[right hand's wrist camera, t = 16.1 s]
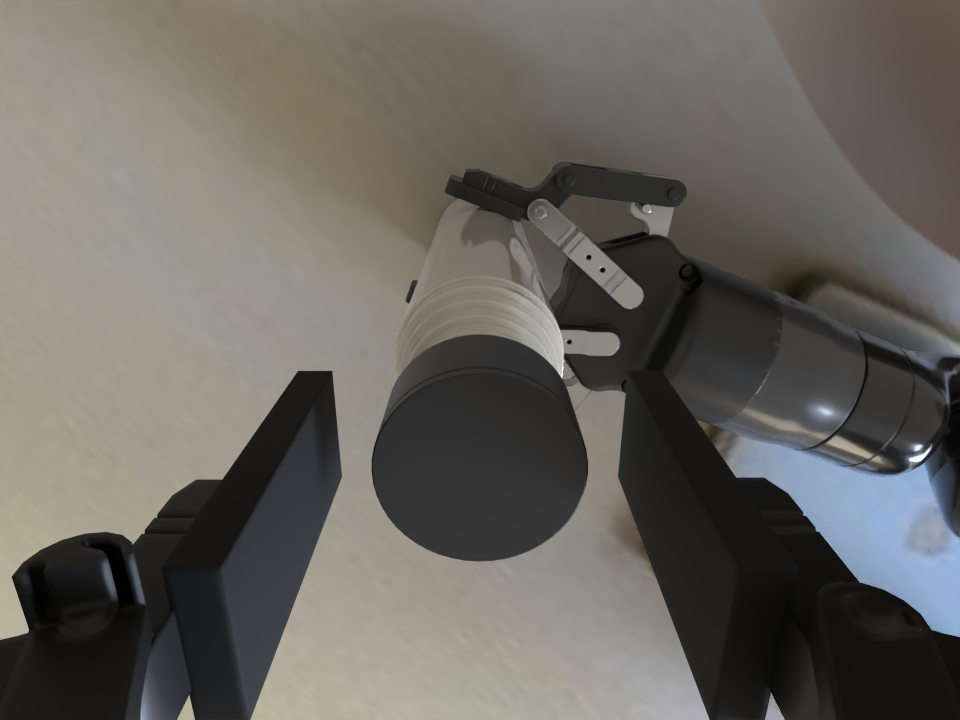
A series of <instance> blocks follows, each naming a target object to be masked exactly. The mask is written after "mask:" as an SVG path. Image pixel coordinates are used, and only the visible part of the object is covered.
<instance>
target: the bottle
mask: <svg viewBox="0 0 960 720" xmlns="http://www.w3.org/2000/svg"><path fill="white" fill-rule="evenodd" d="M478 334H483V335H495V336H500V337H505V338H509V339H511V340H514V341H517V342H520V343H522V344H524V345H526V346H528V347H530V348H532V349H533V350H535V351H536V352H538V353H539V354H540V355H542V356H543V357H544V358H545V359H546V360H547V361H549V362H550V364H551V365H552V366H553V367H554V368H555V369H556V370H557V372H558V373H559V375H560V376H561V378H562V376H563V368H564V344H563V339H562V334H561V331H560V329H559V326H558V323H557V320H556V317H555V315H554V312H553V309H552V306H551V304H550V301H549V298H548V295H547V293H546V290H545V287H544V284H543V282H542V279H541V276H540V273H539V271H538V268H537V265H536V262H535V260H534V257H533V254H532V251H531V249H530V246H529V243H528V240H527V238H526V235H525V232H524V229H523V227H522V224H521V221H520V222H517V221H515V220H512V219H510V218H507V217H505V216H502V215H500V214H498V213H495V212H492V211H489V210H487V209H484V208H482V207H479V206H477V205H474V204H471V203H469V202H466V201H464V200H461V199H459V198H458V199H456V200H455V201H453V202H452V203H451V204H450V205H449V206H448V207H447V209H446V210H445V211H444V213H443V215H442V217H441V219H440V222H439V224H438V227H437V230H436V232H435V235H434V238H433V241H432V243H431V246H430V249H429V252H428V254H427V257H426V260H425V262H424V265H423V268H422V271H421V273H420V276H419V279H418V282H417V284H416V287H415V290H414V292H413V295H412V298H411V301H410V303H409V306H408V309H407V312H406V314H405V317H404V320H403V322H402V325H401V328H400V331H399V335H398V338H397V345H396V370H397V376H398V377H399V376H400V375H401V373H402V372H403V370H404V369H405V368H406V367H407V366H408V365H409V363H410V362H411V361H412V360H413V359H415V358H416V357H417V356H418V355H419V354H421V353H422V352H424V351H425V350H427V349H428V348H430V347H432V346H434V345H436V344H438V343H440V342H442V341H445V340H448V339H451V338H455V337H460V336H465V335H478Z"/></svg>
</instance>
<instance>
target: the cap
mask: <svg viewBox="0 0 960 720" xmlns="http://www.w3.org/2000/svg"><path fill="white" fill-rule="evenodd" d="M587 476H588V459H587V452H586V447H585V444H584V440H583V437H582V434H581V431H580V428H579V424H578V421H577V418H576V415H575V412H574V408H573V405H572V402H571V399H570V396H569V392H568V390H567V388H566V385H565V383H564V381H563V379H562V378H561V376H560V375H559V373H558V372H557V370H556V369H555V368H554V367H553V366H552V365H551V364H550V362H549V361H547V360H546V359H545V358H544V357H543V356H542V355H540V354H539V353H538V352H536V351H535V350H533V349H532V348H530V347H528V346H526V345H524V344H522V343H520V342H517V341H514V340H511V339H509V338H505V337H500V336H495V335H483V334H478V335H465V336H460V337H455V338H451V339H448V340H445V341H442V342H440V343H438V344H436V345H434V346H432V347H430V348H428V349H427V350H425V351H424V352H422V353H421V354H419V355H418V356H417V357H416V358H415V359H413V360H412V361H411V362H410V363H409V365H408V366H407V367H406V368H405V369H404V370H403V372H402V373H401V375H400V376H399V377H398V379H397V381H396V383H395V385H394V387H393V389H392V392H391V395H390V398H389V401H388V404H387V408H386V411H385V414H384V417H383V420H382V423H381V427H380V430H379V433H378V436H377V439H376V442H375V446H374V450H373V456H372V477H373V484H374V488H375V491H376V495H377V497H378V499H379V502H380V504H381V506H382V508H383V510H384V511H385V513H386V514H387V516H388V518H389V519H390V520H391V521H392V522H393V524H394V525H395V526H396V527H397V528H398V529H399V530H400V531H401V532H402V533H403V534H404V535H405V536H407V537H408V538H410V539H411V540H412V541H414V542H415V543H417V544H418V545H420V546H422V547H424V548H426V549H427V550H430V551H432V552H435V553H437V554H439V555H443V556H446V557H450V558H454V559H459V560H465V561H494V560H500V559H506V558H510V557H514V556H517V555H520V554H523V553H525V552H528V551H530V550H532V549H534V548H536V547H538V546H540V545H542V544H543V543H545V542H546V541H547V540H549V539H550V538H552V537H553V536H554V535H555V534H556V533H557V532H559V531H560V530H561V529H562V528H563V527H564V526H565V524H566V523H567V522H568V521H569V520H570V518H571V517H572V515H573V514H574V512H575V511H576V509H577V507H578V505H579V503H580V501H581V499H582V497H583V493H584V490H585V487H586V482H587Z"/></svg>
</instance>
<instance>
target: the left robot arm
mask: <svg viewBox="0 0 960 720" xmlns="http://www.w3.org/2000/svg"><path fill="white" fill-rule="evenodd" d="M445 192H446V193H447V194H449V195H451V196H454V197H456V198H459V199H461V200H464V201H466V202H469V203H471V204H474V205H477V206H479V207H482V208H484V209H487V210H489V211H492V212H495V213H498V214H500V215H502V216H505V217H507V218H510V219H512V220H515V221H517V222H520V220H521V218H523V219H526V220H528V221H531V222H532V223H533V224H534V225H535V226H536V227H537V228H538V229H539V230H540V231H542V232H543V233H544V234H545V235H546V236H547V237H548V238H549V239H550V240H551V241H553V242H554V243H555V244H556V245H557V246H558V247H559V248H560V249H561V250H562V251H563V252H564V253H565V254H566V255H567V256H568V257H569V258H568V260H567V262H566V265H565V267H564V269H563V274H562V281H561V285H560V287H559V288H558V289H557V291H556V292H555V293H554V294H553V296H552V297H551V299H550V304H551V306H552V309H553V312H554V315H555V317H556V320H557V323H558V326H559V329H560V331H561V334H562V339H563V344H564V359H565V361H566V362H567V364H568V365H569V367H570V368H571V370H572V372H573V373H574V375H575V376H574V377H573V378H571V379H563V381H564V383H565V385H566V388H567V390H568V392H569V396H570V399H571V402H572V405H573V408H574V412H575V410H576V409H577V408H578V407H579V406H580V404H581V403H582V402H583V401H584V399H585V398H586V397H587V396H588V395H589V393H590V392H591V391H606V390H617V391H622V392H624V393H626V386H627V375H628V371H662V372H663V373H664V375H665V376H666V378H667V379H668V381H669V382H670V384H671V385H672V386H673V388H674V389H675V391H676V392H677V394H678V395H679V396H680V398H681V399H682V401H683V402H684V404H685V405H686V406H687V408H688V409H689V411H690V412H691V414H692V415H693V416H694V418H695V419H697V420H700V421H702V422H705V423H708V424H711V425H713V426H716V427H719V428H722V429H725V430H727V431H730V432H733V433H736V434H738V435H741V436H744V437H747V438H750V439H753V440H757V441H762V442H766V443H771V444H777V445H781V446H784V447H788V448H791V449H794V450H796V451H799V452H802V453H804V454H807V455H810V456H813V457H815V458H818V459H821V460H824V461H826V462H829V463H832V464H835V465H837V466H840V467H843V468H846V469H850V470H853V471H856V472H859V473H862V474H866V475H871V476H882V477H889V476H897V475H901V474H904V473H907V472H909V471H911V470H913V469H915V468H917V467H919V466H920V465H922V464H923V463H925V467H926V470H927V474H928V477H929V480H930V484H931V487H932V491H933V494H934V497H935V501H936V504H937V507H938V511H939V514H940V516H941V518H942V520H943V522H944V524H945V526H946V527H947V529H948V530H949V531H950V532H951V533H952V534H953V535H954V536H955V537H957V538H958V539H959V540H960V355H953V354H945V353H936V352H920V351H910V350H905V349H903V348H901V347H899V346H897V345H894V344H892V343H889V342H887V341H885V340H882V339H880V338H877V337H875V336H872V335H870V334H867V333H864V332H862V331H859V330H857V329H854V328H852V327H849V326H847V325H845V324H843V323H841V322H839V321H837V320H835V319H833V318H832V317H830V316H829V315H827V314H825V313H824V312H822V311H820V310H818V309H816V308H815V307H812V306H810V305H808V304H806V303H803V302H801V301H798V300H796V299H793V298H791V297H790V296H789V295H787V294H786V293H784V292H782V291H779V290H775V289H768V288H766V287H763V286H761V285H758V284H756V283H753V282H751V281H748V280H746V279H743V278H741V277H738V276H736V275H733V274H731V273H728V272H726V271H723V270H721V269H718V268H716V267H713V266H711V265H708V264H706V263H704V262H701V261H699V260H696V259H694V258H691V257H689V256H686V255H684V254H682V253H680V252H679V250H678V249H677V248H676V247H675V245H674V244H673V242H672V241H671V240H670V239H668V238H667V237H668V233H669V229H670V225H671V221H672V216H673V212H674V208H675V207H677V206H679V205H680V204H681V203H682V202H683V201H684V200H685V197H686V188H685V186H684V184H683V183H682V182H680V181H677V180H675V179H672V178H669V177H666V176H663V175H656V174H649V173H642V172H634V171H627V170H620V169H613V168H605V167H598V166H591V165H583V164H576V163H569V162H560V163H558V164H556V165H555V166H554V167H553V168H552V170H551V172H550V174H549V175H548V176H547V177H546V178H545V179H544V180H543V182H542V183H541V184H539V185H538V186H536V187H534V188H524V187H522V186H519V185H517V184H514V183H512V182H509V181H507V180H504V179H502V178H499V177H497V176H494V175H492V174H489V173H487V172H484V171H482V170H479V169H466V172H465V174H464V177H463V178H461V177H458V176H455V175H451V176H450V178H449V181H448V184H447V186H446V189H445ZM571 194H574V195H582V196H589V197H597V198H604V199H611V200H619V201H626V202H627V204H626V206H627V210H628V212H629V213H630V214H631V215H633V216H634V217H635V218H637V219H640V220H642V221H643V223H644V226H645V231H644V232H640V233H636V234H632V235H628V236H624V237H620V238H616V239H613V240H609V241H605V242H601V243H597V244H596V243H595V242H594V241H593V240H592V239H591V238H590V237H589V236H588V235H587V234H586V233H585V232H584V231H582V230H581V229H580V228H579V227H578V226H577V225H576V224H575V223H574V222H573V221H572V220H570V219H569V218H568V217H567V216H566V215H565V214H564V213H563V212H562V211H561V210H559V208H560V207H561V205H562V204H563V203H564V202H565V201H566V200H567V199H568V198H569V197H570V195H571ZM417 282H418V281H417V280H413V281H412V284H411V286H410V289H409V292H408V295H407V297H406V302H407V303H410V301H411V298H412V295H413V292H414V290H415V287H416V284H417Z"/></svg>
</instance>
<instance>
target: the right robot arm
mask: <svg viewBox="0 0 960 720" xmlns="http://www.w3.org/2000/svg"><path fill="white" fill-rule="evenodd" d="M341 478H342V473H341V462H340V451H339V440H338V429H337V418H336V408H335V397H334V386H333V375H332V371H298V372H297V373H296V375H295V376H294V378H293V379H292V381H291V382H290V384H289V385H288V386H287V388H286V389H285V391H284V392H283V394H282V395H281V396H280V398H279V399H278V401H277V402H276V404H275V405H274V406H273V408H272V409H271V411H270V412H269V414H268V415H267V416H266V418H265V419H264V421H263V422H262V424H261V425H260V427H259V428H258V429H257V431H256V432H255V434H254V435H253V437H252V438H251V439H250V441H249V442H248V444H247V445H246V447H245V448H244V449H243V451H242V452H241V454H240V455H239V457H238V458H237V460H236V461H235V462H234V464H233V465H232V467H231V468H230V470H229V471H228V472H227V474H226V475H225V477H224V478H223V480H195V481H194V482H192V483H191V484H189V485H188V486H186V487H185V488H183V489H182V490H180V491H179V492H177V493H176V494H174V495H173V496H172V497H171V498H170V499H169V500H168V502H167V503H166V504H165V505H164V507H163V508H162V509H161V510H160V512H159V513H158V514H157V518H154V519H153V520H152V522H151V523H150V524H149V525H148V527H147V528H146V529H145V534H141V535H140V537H139V538H138V539H137V541H136V542H135V543H134V544H133V545H132V542H131V541H129V540H128V539H127V538H125V537H124V536H123V535H119V534H114V533H108V532H101V533H88V534H83V535H79V536H75V537H72V538H68V539H64V540H61V541H59V542H57V543H55V544H53V545H51V546H48V547H46V548H44V549H42V550H40V551H39V552H37V553H36V554H35V555H33V556H32V557H30V558H29V559H28V560H26V561H25V562H23V563H22V564H21V566H20V567H19V568H18V570H17V571H16V572H15V573H14V575H13V576H12V579H13V582H14V585H15V588H16V591H17V594H18V597H19V600H20V603H21V606H22V609H23V612H24V615H25V618H26V621H27V624H28V627H29V632H28V633H26V634H23V635H20V636H16V637H11V638H7V639H2V640H0V720H177V718H178V716H179V714H180V712H181V710H182V708H183V706H184V704H185V702H186V700H187V698H188V696H189V695H190V699H191V703H192V708H193V712H194V717H195V720H250V719H251V716H252V714H253V711H254V708H255V706H256V703H257V700H258V698H259V695H260V692H261V690H262V687H263V684H264V682H265V679H266V677H267V674H268V671H269V669H270V666H271V663H272V661H273V658H274V655H275V653H276V650H277V647H278V645H279V642H280V639H281V637H282V634H283V631H284V629H285V626H286V623H287V621H288V618H289V616H290V613H291V610H292V608H293V605H294V602H295V600H296V597H297V594H298V592H299V589H300V586H301V584H302V581H303V578H304V576H305V573H306V570H307V568H308V565H309V562H310V560H311V557H312V555H313V552H314V549H315V547H316V544H317V541H318V539H319V536H320V533H321V531H322V528H323V525H324V523H325V520H326V517H327V515H328V512H329V509H330V507H331V504H332V501H333V499H334V496H335V494H336V491H337V488H338V486H339V483H340V480H341ZM618 478H619V480H620V483H621V486H622V488H623V491H624V494H625V496H626V499H627V501H628V504H629V507H630V509H631V512H632V515H633V517H634V520H635V523H636V525H637V528H638V531H639V533H640V536H641V539H642V541H643V544H644V547H645V549H646V552H647V555H648V557H649V560H650V562H651V565H652V568H653V570H654V573H655V576H656V578H657V581H658V584H659V586H660V589H661V592H662V594H663V597H664V600H665V602H666V605H667V608H668V610H669V613H670V616H671V618H672V621H673V623H674V626H675V629H676V631H677V634H678V637H679V639H680V642H681V645H682V647H683V650H684V653H685V655H686V658H687V661H688V663H689V666H690V669H691V671H692V674H693V677H694V679H695V682H696V684H697V687H698V690H699V692H700V695H701V698H702V700H703V703H704V706H705V708H706V711H707V714H708V716H709V719H710V720H765V717H766V712H767V708H768V703H769V699H770V695H771V693H772V695H773V697H774V699H775V701H776V703H777V705H778V707H779V709H780V711H781V713H782V715H783V717H784V719H785V720H960V637H956V636H952V635H948V634H943V633H940V632H936V631H933V630H931V629H930V627H929V626H928V624H927V623H926V621H925V620H924V618H923V617H922V615H921V614H920V613H919V612H917V611H916V610H915V609H914V608H912V607H911V606H910V605H909V604H908V603H906V602H905V601H904V600H902V599H900V598H898V597H896V596H894V595H892V594H890V593H889V592H887V591H885V590H883V589H879V588H876V587H873V586H870V585H866V584H863V583H860V582H859V581H858V580H857V579H856V577H855V576H854V575H853V574H852V572H851V571H850V570H849V569H848V568H847V566H846V565H845V564H844V563H843V561H842V560H841V559H840V558H839V556H838V555H837V554H836V553H835V551H834V550H833V549H832V548H831V546H830V545H829V544H828V543H827V541H826V540H825V539H824V538H823V536H822V535H821V534H820V533H819V532H816V530H815V529H816V528H815V526H814V525H813V524H812V523H811V521H810V520H809V519H808V518H807V517H806V516H803V512H802V510H801V509H800V508H799V507H798V505H797V504H796V503H795V502H794V500H793V499H792V498H791V497H790V495H789V494H788V493H786V492H785V491H783V490H782V489H780V488H779V487H777V486H776V485H774V484H773V483H771V482H770V481H768V480H767V479H765V478H736V477H735V475H734V474H733V472H732V471H731V470H730V468H729V467H728V465H727V464H726V462H725V461H724V460H723V458H722V457H721V455H720V454H719V452H718V451H717V449H716V448H715V447H714V445H713V444H712V442H711V441H710V439H709V438H708V437H707V435H706V434H705V432H704V431H703V429H702V428H701V427H700V425H699V424H698V422H697V421H696V419H695V418H694V416H693V415H692V414H691V412H690V411H689V409H688V408H687V406H686V405H685V404H684V402H683V401H682V399H681V398H680V396H679V395H678V394H677V392H676V391H675V389H674V388H673V386H672V385H671V384H670V382H669V381H668V379H667V378H666V376H665V375H664V373H663V372H662V371H628V375H627V386H626V397H625V408H624V418H623V429H622V440H621V451H620V462H619V473H618Z"/></svg>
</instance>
